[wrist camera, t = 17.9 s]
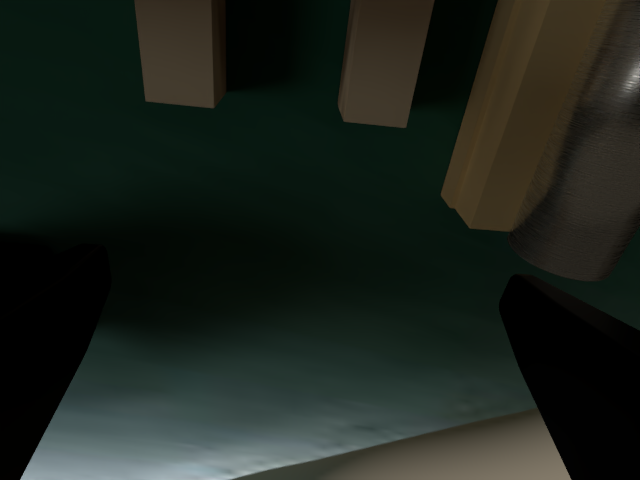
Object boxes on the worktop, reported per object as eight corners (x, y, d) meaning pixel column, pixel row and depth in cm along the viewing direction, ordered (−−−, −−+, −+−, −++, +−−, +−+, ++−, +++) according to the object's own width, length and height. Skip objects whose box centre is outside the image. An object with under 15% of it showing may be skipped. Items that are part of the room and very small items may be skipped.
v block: (565, 205, 21) (608, 239, 18) (440, 194, 21) (464, 227, 18) (733, -145, 14) (849, -182, 11) (550, -179, 13) (621, -229, 11)
